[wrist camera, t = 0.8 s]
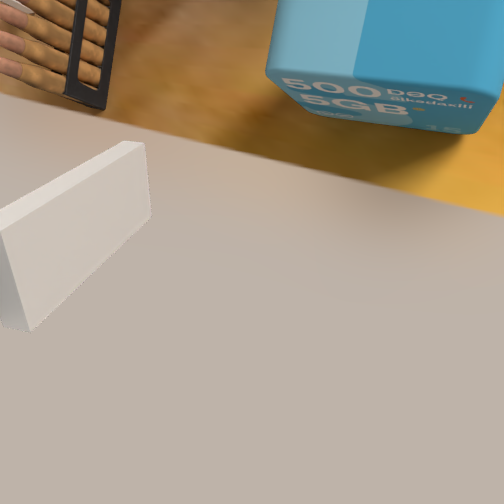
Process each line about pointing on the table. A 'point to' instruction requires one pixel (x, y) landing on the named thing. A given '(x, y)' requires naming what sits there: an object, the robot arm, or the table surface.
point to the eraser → (18, 6)
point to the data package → (391, 60)
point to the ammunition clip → (64, 47)
